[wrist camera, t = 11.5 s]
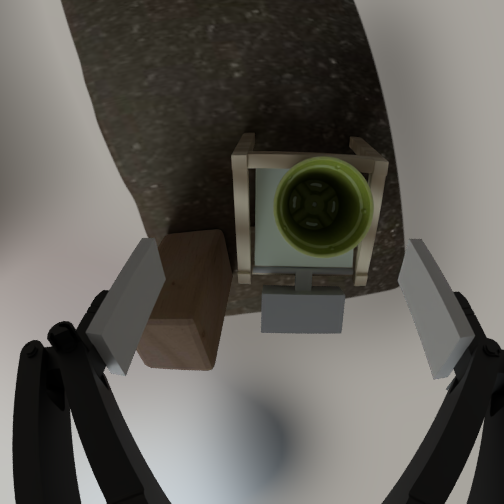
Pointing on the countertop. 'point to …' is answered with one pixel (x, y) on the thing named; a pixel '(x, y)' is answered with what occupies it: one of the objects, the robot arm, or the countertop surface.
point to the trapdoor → (293, 272)
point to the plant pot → (323, 207)
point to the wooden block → (188, 302)
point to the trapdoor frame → (247, 158)
